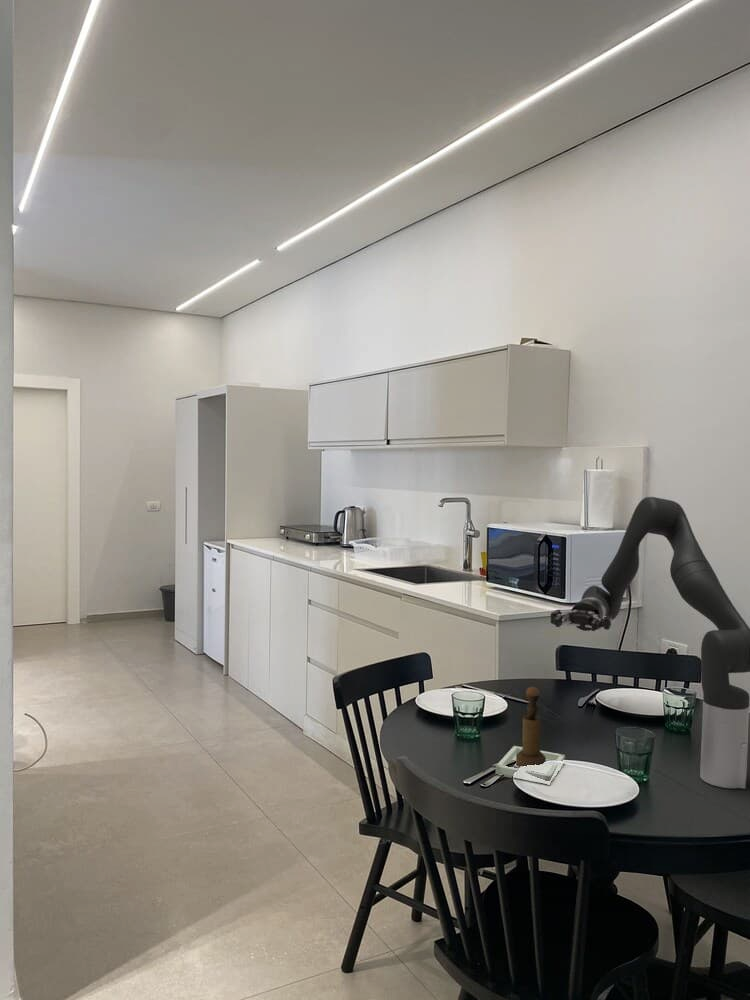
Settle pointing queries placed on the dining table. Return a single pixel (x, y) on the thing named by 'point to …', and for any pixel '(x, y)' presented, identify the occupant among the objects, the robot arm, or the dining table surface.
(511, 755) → the tray
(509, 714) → the dining table surface
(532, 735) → the mortar and pestle
